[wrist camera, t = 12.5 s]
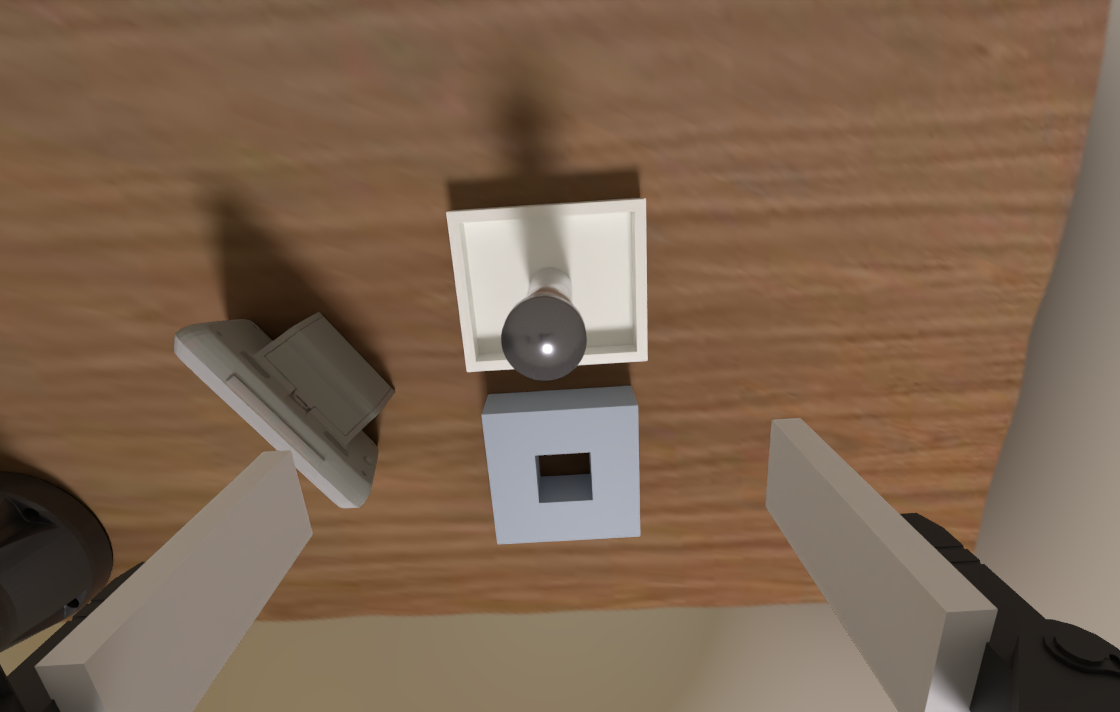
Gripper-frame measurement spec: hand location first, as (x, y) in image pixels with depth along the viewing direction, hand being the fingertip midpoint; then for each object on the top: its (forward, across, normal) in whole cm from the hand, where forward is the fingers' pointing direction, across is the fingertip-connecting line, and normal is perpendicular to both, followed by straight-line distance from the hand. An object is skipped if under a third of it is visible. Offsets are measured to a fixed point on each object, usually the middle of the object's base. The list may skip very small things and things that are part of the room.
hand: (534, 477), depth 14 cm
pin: (+27, 0, 0) cm, 27 cm away
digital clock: (+28, -19, -7) cm, 35 cm away
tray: (+28, 0, 0) cm, 28 cm away
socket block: (+28, 0, -15) cm, 32 cm away
